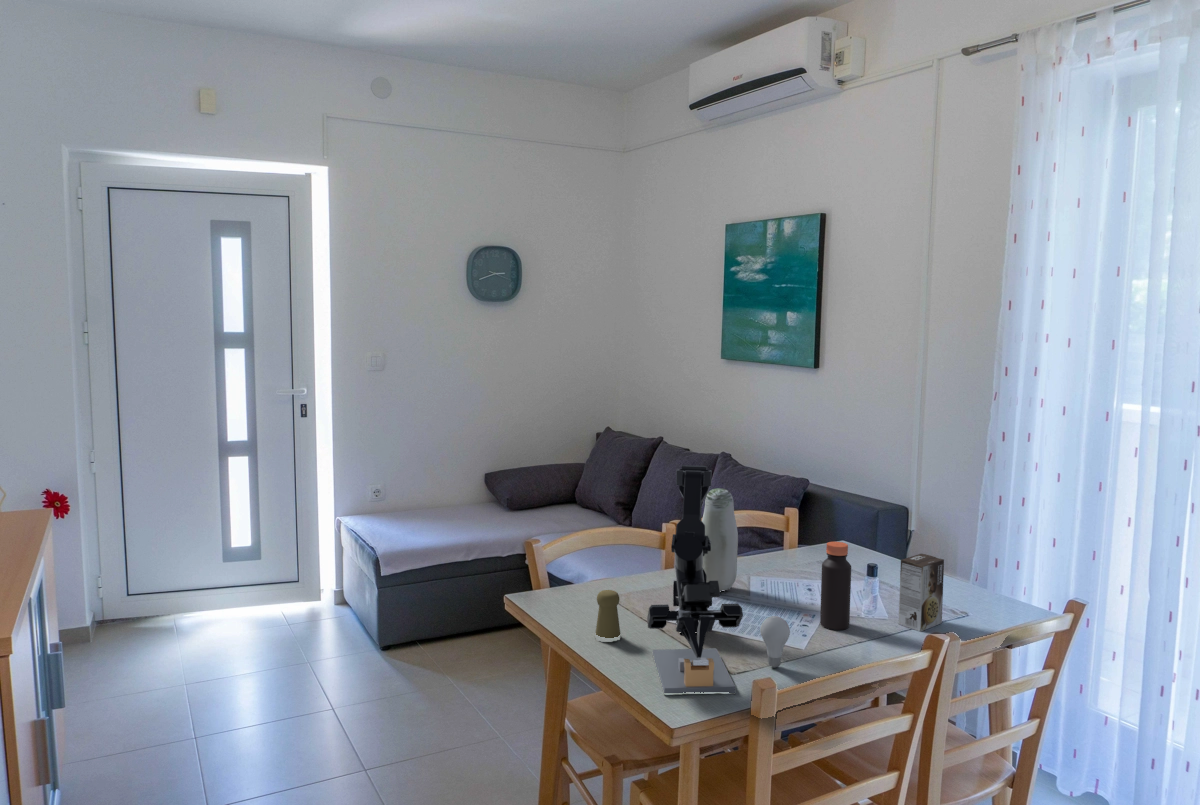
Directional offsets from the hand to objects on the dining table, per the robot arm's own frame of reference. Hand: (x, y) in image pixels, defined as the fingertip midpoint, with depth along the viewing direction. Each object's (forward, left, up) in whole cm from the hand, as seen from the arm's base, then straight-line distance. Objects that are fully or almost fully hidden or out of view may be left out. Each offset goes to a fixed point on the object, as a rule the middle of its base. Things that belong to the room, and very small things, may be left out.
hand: (699, 656), depth 162 cm
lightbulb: (-11, +18, -7) cm, 23 cm away
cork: (-29, -16, -7) cm, 34 cm away
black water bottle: (-34, +39, -7) cm, 52 cm away
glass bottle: (-61, +16, -7) cm, 64 cm away
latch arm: (-3, 0, -3) cm, 4 cm away
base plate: (-9, 0, -7) cm, 11 cm away
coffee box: (-34, +60, -8) cm, 69 cm away
